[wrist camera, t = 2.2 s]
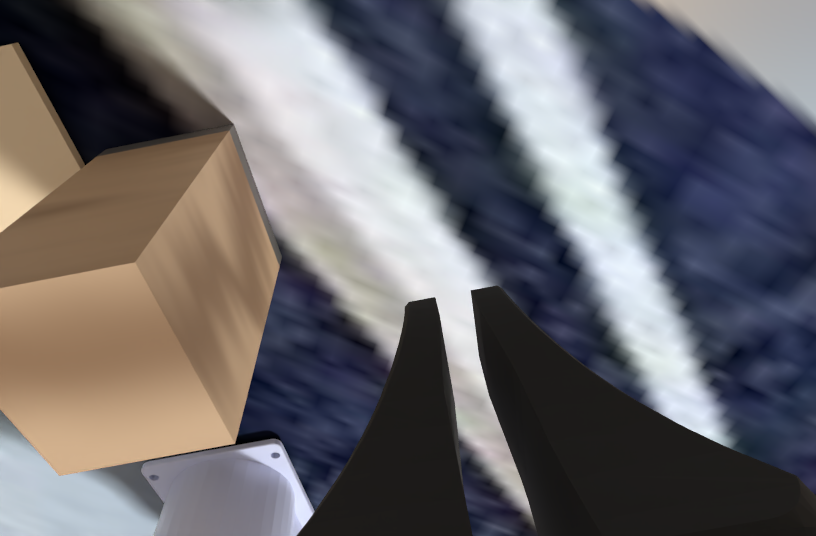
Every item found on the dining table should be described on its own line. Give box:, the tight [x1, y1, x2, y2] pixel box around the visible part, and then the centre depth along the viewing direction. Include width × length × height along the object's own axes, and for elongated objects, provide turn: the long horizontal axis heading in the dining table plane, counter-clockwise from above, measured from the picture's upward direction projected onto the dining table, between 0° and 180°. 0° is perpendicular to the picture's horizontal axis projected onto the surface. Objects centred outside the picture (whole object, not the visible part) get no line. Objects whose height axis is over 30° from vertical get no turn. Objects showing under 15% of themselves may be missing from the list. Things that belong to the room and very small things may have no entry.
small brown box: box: [0, 124, 282, 476], centre depth 17 cm, size 6×5×10 cm
